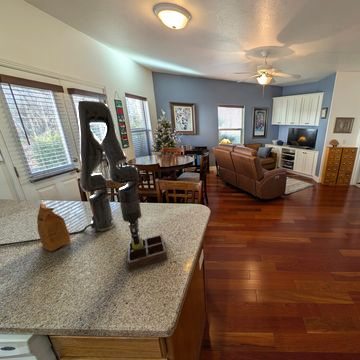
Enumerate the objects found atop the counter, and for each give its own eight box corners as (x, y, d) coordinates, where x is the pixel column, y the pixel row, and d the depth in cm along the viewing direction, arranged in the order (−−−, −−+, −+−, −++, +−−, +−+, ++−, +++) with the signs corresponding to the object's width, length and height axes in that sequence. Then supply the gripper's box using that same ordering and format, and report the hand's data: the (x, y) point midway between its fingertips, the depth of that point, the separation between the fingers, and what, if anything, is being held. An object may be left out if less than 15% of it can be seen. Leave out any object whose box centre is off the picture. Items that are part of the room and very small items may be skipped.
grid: (129, 270, 81) (127, 263, 80) (129, 249, 94) (128, 242, 93) (167, 258, 88) (166, 251, 87) (162, 240, 101) (161, 234, 100)
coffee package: (64, 235, 105) (53, 199, 98) (74, 243, 98) (62, 205, 92) (40, 245, 96) (25, 206, 90) (48, 253, 90) (33, 213, 84)
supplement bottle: (135, 245, 94) (132, 230, 91) (145, 244, 94) (142, 230, 92) (130, 251, 89) (127, 236, 87) (141, 251, 90) (138, 236, 87)
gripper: (122, 204, 89) (128, 235, 95) (120, 217, 77) (127, 251, 83) (139, 201, 93) (144, 231, 98) (140, 213, 81) (146, 246, 86)
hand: (136, 240), depth 90 cm, fingers closed on supplement bottle, 4 cm apart
